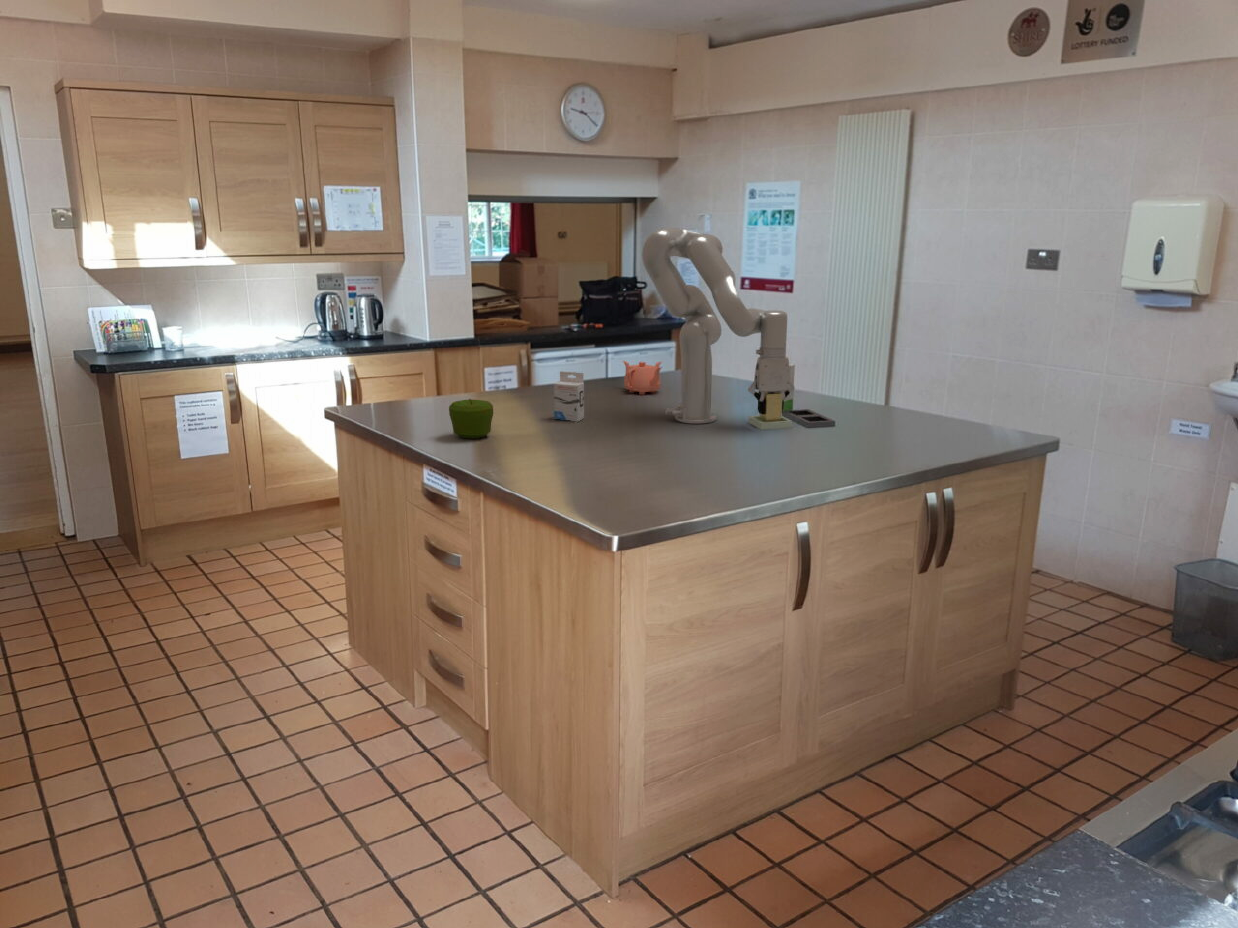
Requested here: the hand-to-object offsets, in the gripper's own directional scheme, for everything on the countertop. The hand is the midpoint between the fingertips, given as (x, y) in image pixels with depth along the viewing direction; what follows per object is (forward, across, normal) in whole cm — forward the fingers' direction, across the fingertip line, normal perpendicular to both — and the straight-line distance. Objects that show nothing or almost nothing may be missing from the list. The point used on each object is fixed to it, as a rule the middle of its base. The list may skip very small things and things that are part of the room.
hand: (770, 412), depth 279 cm
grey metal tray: (+4, +14, +2) cm, 14 cm away
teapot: (+5, -20, +64) cm, 67 cm away
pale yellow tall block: (+2, 0, 0) cm, 2 cm away
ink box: (+5, -56, +26) cm, 62 cm away
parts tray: (+4, 0, 0) cm, 4 cm away
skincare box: (+5, +12, +19) cm, 23 cm away
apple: (+5, -88, +11) cm, 89 cm away
